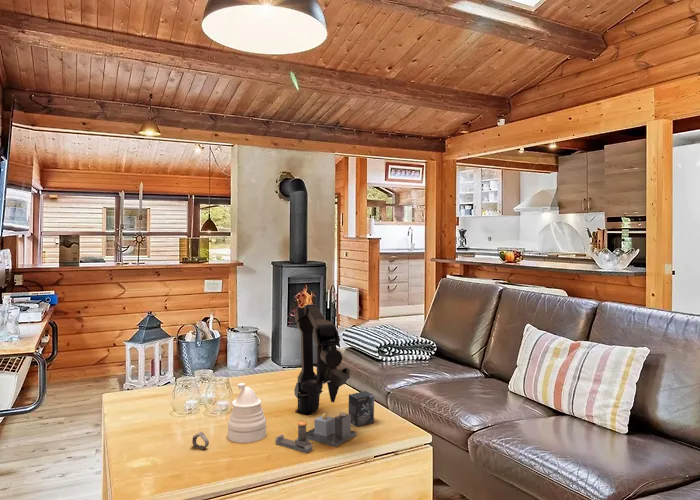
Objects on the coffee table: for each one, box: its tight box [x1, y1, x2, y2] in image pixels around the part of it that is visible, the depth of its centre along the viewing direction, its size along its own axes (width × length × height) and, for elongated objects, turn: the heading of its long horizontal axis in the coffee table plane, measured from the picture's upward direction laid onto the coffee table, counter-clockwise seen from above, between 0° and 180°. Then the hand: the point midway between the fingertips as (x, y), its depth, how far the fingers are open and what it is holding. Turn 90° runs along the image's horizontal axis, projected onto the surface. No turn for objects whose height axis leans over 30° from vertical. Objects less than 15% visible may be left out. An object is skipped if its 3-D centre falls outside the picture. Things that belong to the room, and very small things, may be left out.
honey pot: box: [227, 382, 267, 444], centre depth 176 cm, size 13×13×18 cm
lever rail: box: [275, 434, 313, 454], centre depth 167 cm, size 13×3×2 cm, turn 56°
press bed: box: [306, 411, 357, 448], centre depth 175 cm, size 14×12×9 cm
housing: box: [314, 413, 335, 435], centre depth 176 cm, size 5×5×6 cm
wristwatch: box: [191, 431, 210, 450], centre depth 166 cm, size 4×6×5 cm, turn 60°
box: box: [348, 390, 375, 428], centre depth 188 cm, size 8×6×11 cm
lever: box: [294, 420, 310, 447], centre depth 165 cm, size 4×3×7 cm
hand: (324, 405), depth 176 cm, fingers open, 9 cm apart
